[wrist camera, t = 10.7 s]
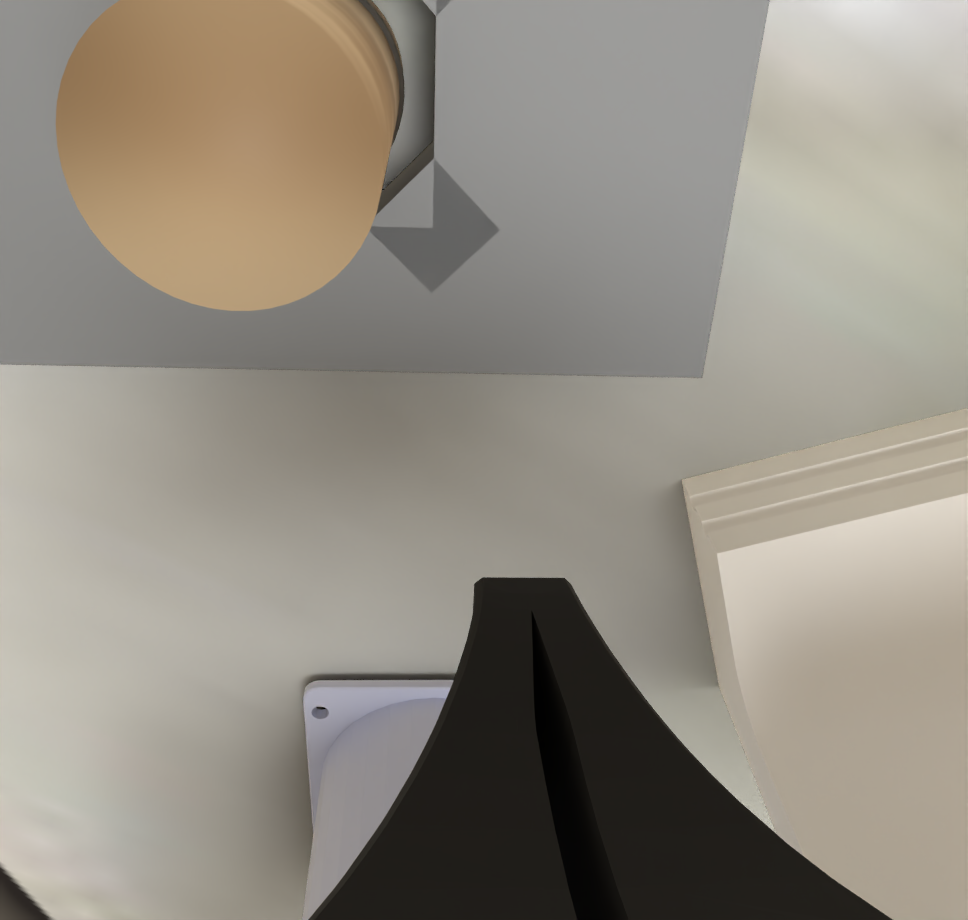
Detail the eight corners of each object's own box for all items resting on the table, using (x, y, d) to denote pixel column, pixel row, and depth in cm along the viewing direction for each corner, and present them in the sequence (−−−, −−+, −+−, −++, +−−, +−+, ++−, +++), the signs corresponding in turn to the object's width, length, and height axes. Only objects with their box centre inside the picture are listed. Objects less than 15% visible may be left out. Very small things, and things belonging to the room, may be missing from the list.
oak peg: (402, 182, 20) (384, 326, 12) (215, 168, 20) (73, 306, 12) (411, -27, 18) (395, -13, 10) (202, -47, 18) (22, -47, 10)
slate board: (680, 345, 22) (702, 377, 21) (-61, 328, 21) (-104, 362, 20) (779, -257, 17) (819, -283, 15) (-238, -326, 15) (-323, -361, 14)
